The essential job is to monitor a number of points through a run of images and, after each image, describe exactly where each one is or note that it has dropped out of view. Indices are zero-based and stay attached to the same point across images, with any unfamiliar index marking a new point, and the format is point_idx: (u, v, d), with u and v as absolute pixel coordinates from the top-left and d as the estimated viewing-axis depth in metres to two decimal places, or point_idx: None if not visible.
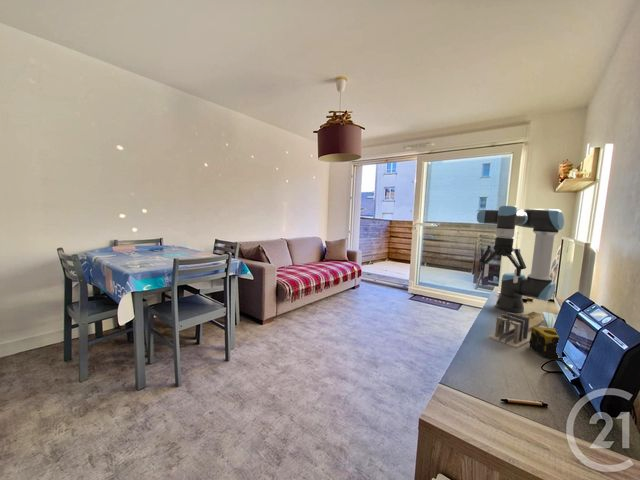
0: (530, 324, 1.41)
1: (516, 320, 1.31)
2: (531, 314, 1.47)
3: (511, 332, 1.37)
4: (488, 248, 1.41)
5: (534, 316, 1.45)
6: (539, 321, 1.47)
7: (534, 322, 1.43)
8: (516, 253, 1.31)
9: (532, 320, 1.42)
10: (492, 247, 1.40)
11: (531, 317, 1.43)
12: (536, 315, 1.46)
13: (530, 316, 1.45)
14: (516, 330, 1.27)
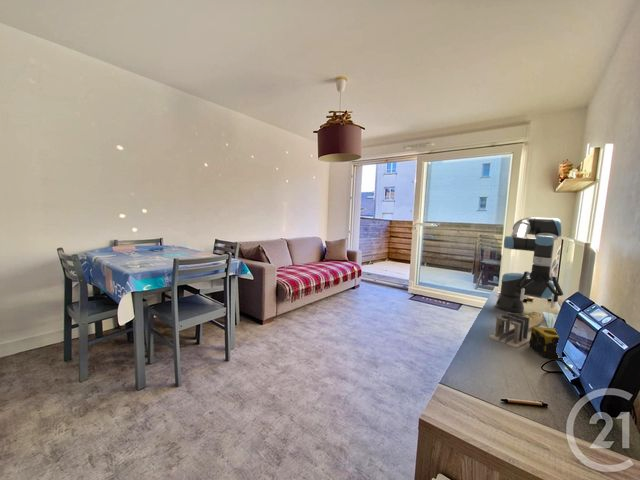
0: (530, 324, 1.41)
1: (516, 320, 1.31)
2: (531, 314, 1.47)
3: (511, 332, 1.37)
4: (525, 274, 1.51)
5: (534, 316, 1.45)
6: (539, 321, 1.47)
7: (534, 322, 1.43)
8: (553, 280, 1.40)
9: (532, 320, 1.42)
10: (529, 273, 1.50)
11: (531, 317, 1.43)
12: (536, 315, 1.46)
13: (530, 316, 1.45)
14: (516, 330, 1.27)
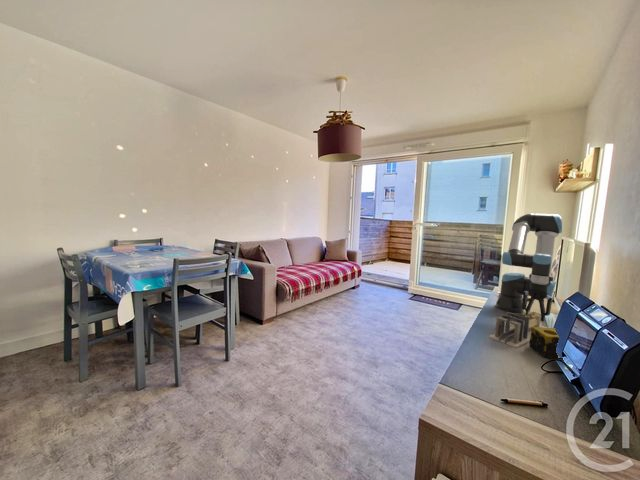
0: (530, 324, 1.41)
1: (516, 320, 1.31)
2: (531, 314, 1.47)
3: (511, 332, 1.37)
4: (524, 294, 1.51)
5: (534, 316, 1.45)
6: None
7: (534, 322, 1.43)
8: (548, 301, 1.42)
9: (532, 320, 1.42)
10: (527, 292, 1.51)
11: (531, 317, 1.43)
12: (536, 315, 1.46)
13: (530, 316, 1.45)
14: (516, 330, 1.27)
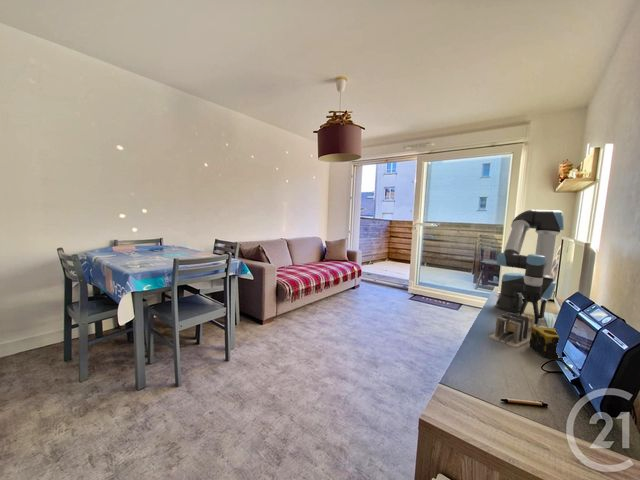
0: None
1: (516, 320, 1.31)
2: None
3: (511, 332, 1.37)
4: (517, 296, 1.47)
5: None
6: None
7: None
8: (542, 303, 1.38)
9: None
10: (520, 294, 1.46)
11: None
12: (530, 318, 1.42)
13: None
14: (516, 330, 1.27)
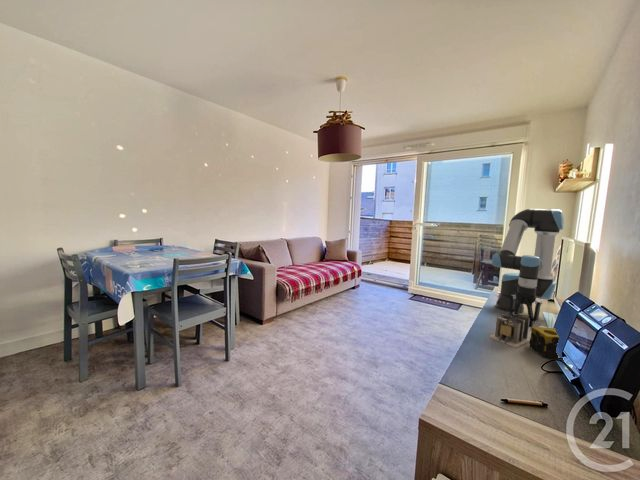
0: None
1: (516, 320, 1.31)
2: None
3: None
4: (511, 298, 1.43)
5: None
6: None
7: None
8: (536, 306, 1.34)
9: None
10: (514, 296, 1.43)
11: None
12: None
13: None
14: (516, 330, 1.27)
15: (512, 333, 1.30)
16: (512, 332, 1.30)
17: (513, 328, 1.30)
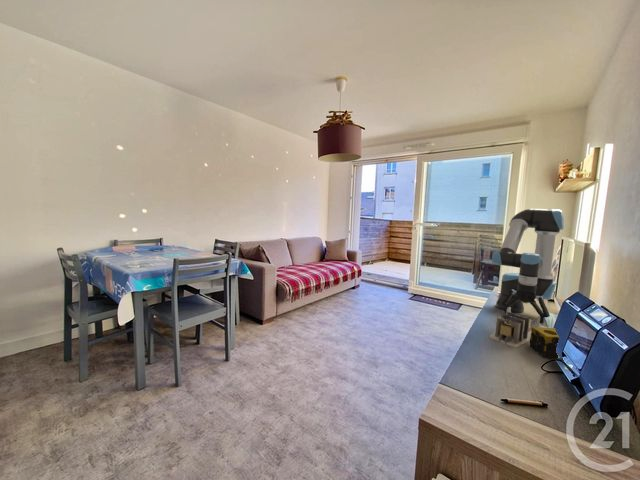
0: None
1: (516, 320, 1.31)
2: None
3: None
4: (510, 293, 1.44)
5: None
6: None
7: None
8: (539, 301, 1.33)
9: None
10: (514, 292, 1.43)
11: None
12: None
13: None
14: (516, 330, 1.27)
15: (512, 333, 1.30)
16: (512, 332, 1.30)
17: (513, 328, 1.30)
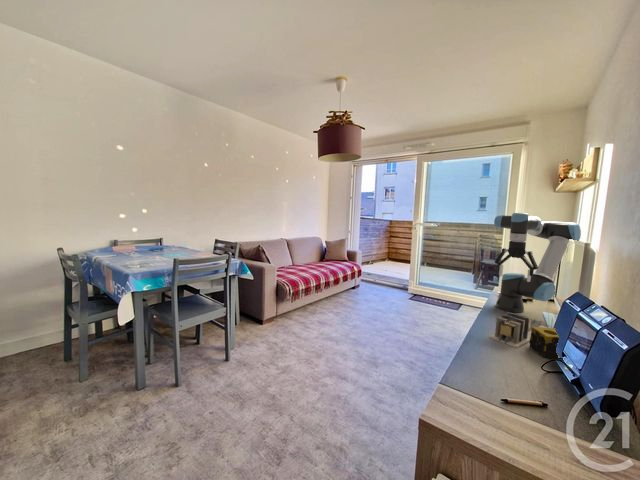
0: None
1: (516, 320, 1.31)
2: None
3: None
4: (502, 251, 1.56)
5: None
6: None
7: None
8: (529, 255, 1.46)
9: None
10: (506, 250, 1.56)
11: None
12: None
13: None
14: (516, 330, 1.27)
15: (512, 333, 1.30)
16: (512, 332, 1.30)
17: (513, 328, 1.30)
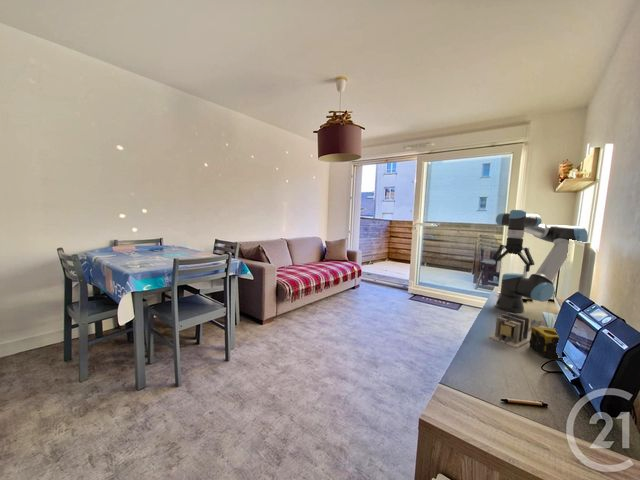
0: None
1: (516, 320, 1.31)
2: None
3: None
4: (500, 247, 1.59)
5: None
6: None
7: None
8: (525, 251, 1.49)
9: None
10: (504, 246, 1.58)
11: None
12: None
13: None
14: (516, 330, 1.27)
15: (512, 333, 1.30)
16: (512, 332, 1.30)
17: (513, 328, 1.30)
